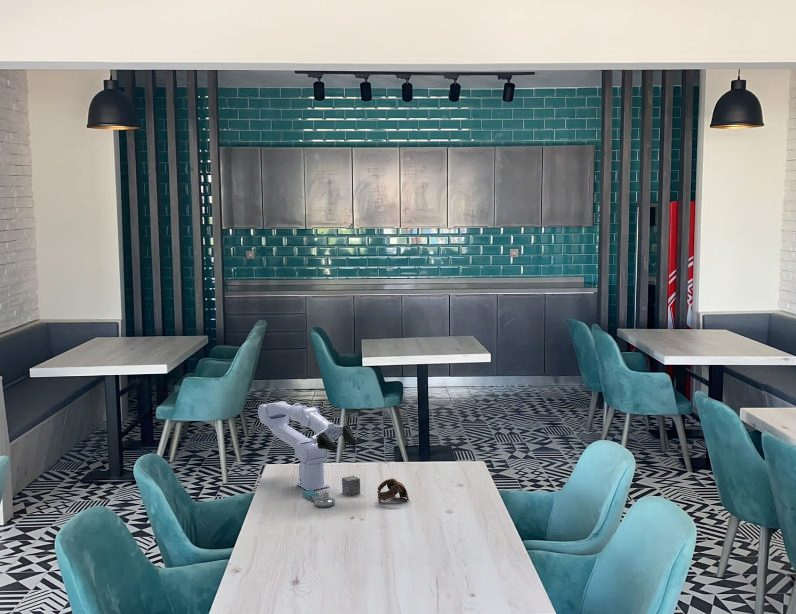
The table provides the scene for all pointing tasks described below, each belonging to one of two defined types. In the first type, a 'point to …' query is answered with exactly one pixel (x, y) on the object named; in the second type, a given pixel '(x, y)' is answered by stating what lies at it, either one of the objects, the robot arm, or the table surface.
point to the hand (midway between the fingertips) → (345, 445)
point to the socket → (351, 485)
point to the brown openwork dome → (392, 490)
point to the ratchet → (320, 498)
